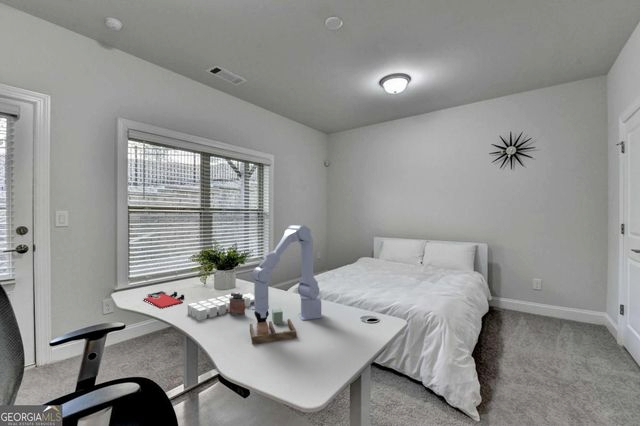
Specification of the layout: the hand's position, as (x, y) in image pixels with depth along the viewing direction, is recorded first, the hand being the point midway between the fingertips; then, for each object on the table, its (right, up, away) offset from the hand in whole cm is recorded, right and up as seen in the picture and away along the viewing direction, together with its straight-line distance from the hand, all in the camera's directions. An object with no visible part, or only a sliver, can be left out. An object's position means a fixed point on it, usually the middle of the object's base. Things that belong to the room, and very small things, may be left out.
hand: (261, 329), depth 116 cm
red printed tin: (-16, -1, +20) cm, 26 cm away
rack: (+5, -1, -2) cm, 5 cm away
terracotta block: (+1, -1, -4) cm, 5 cm away
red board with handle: (-64, -2, +42) cm, 77 cm away
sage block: (+5, -1, +11) cm, 12 cm away
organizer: (-24, -1, +29) cm, 37 cm away
